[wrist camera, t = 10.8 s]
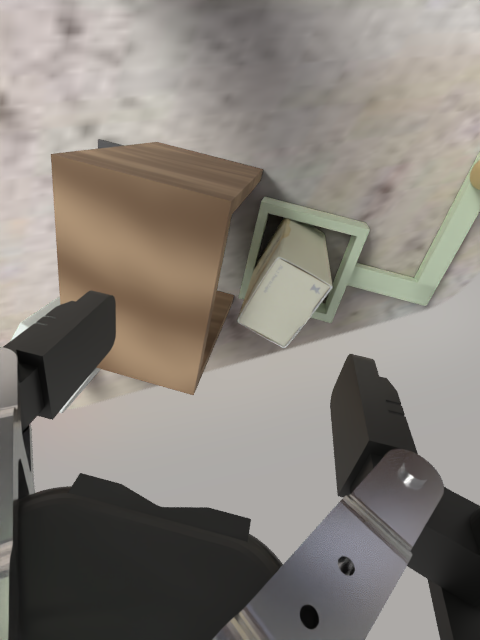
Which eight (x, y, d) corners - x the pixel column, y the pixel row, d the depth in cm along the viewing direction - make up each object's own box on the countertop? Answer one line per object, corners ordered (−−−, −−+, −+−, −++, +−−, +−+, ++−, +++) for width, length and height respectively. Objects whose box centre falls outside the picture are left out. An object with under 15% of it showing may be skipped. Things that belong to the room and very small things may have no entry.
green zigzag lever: (286, 103, 28) (277, 93, 20) (507, 157, 28) (599, 173, 19) (242, 287, 37) (222, 338, 28) (409, 333, 36) (441, 399, 28)
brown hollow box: (157, 142, 32) (51, 153, 19) (263, 169, 31) (231, 201, 18) (145, 279, 39) (63, 358, 26) (232, 303, 38) (193, 395, 25)
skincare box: (287, 210, 33) (278, 250, 22) (327, 234, 33) (336, 285, 23) (254, 264, 36) (233, 321, 25) (291, 285, 36) (285, 351, 26)
